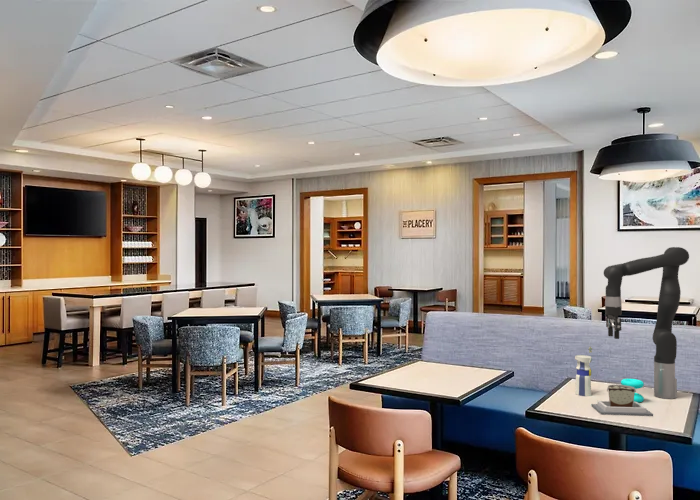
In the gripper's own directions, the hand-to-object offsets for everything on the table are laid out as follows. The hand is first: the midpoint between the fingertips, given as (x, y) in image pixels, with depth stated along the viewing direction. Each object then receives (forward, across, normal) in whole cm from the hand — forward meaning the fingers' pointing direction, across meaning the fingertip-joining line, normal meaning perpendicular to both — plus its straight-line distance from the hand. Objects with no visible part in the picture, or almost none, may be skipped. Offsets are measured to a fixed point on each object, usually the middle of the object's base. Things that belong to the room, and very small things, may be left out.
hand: (613, 337), depth 288 cm
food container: (+28, +28, -7) cm, 40 cm away
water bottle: (+29, -1, -15) cm, 33 cm away
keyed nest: (+29, +29, -7) cm, 42 cm away
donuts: (+30, +9, +5) cm, 31 cm away
